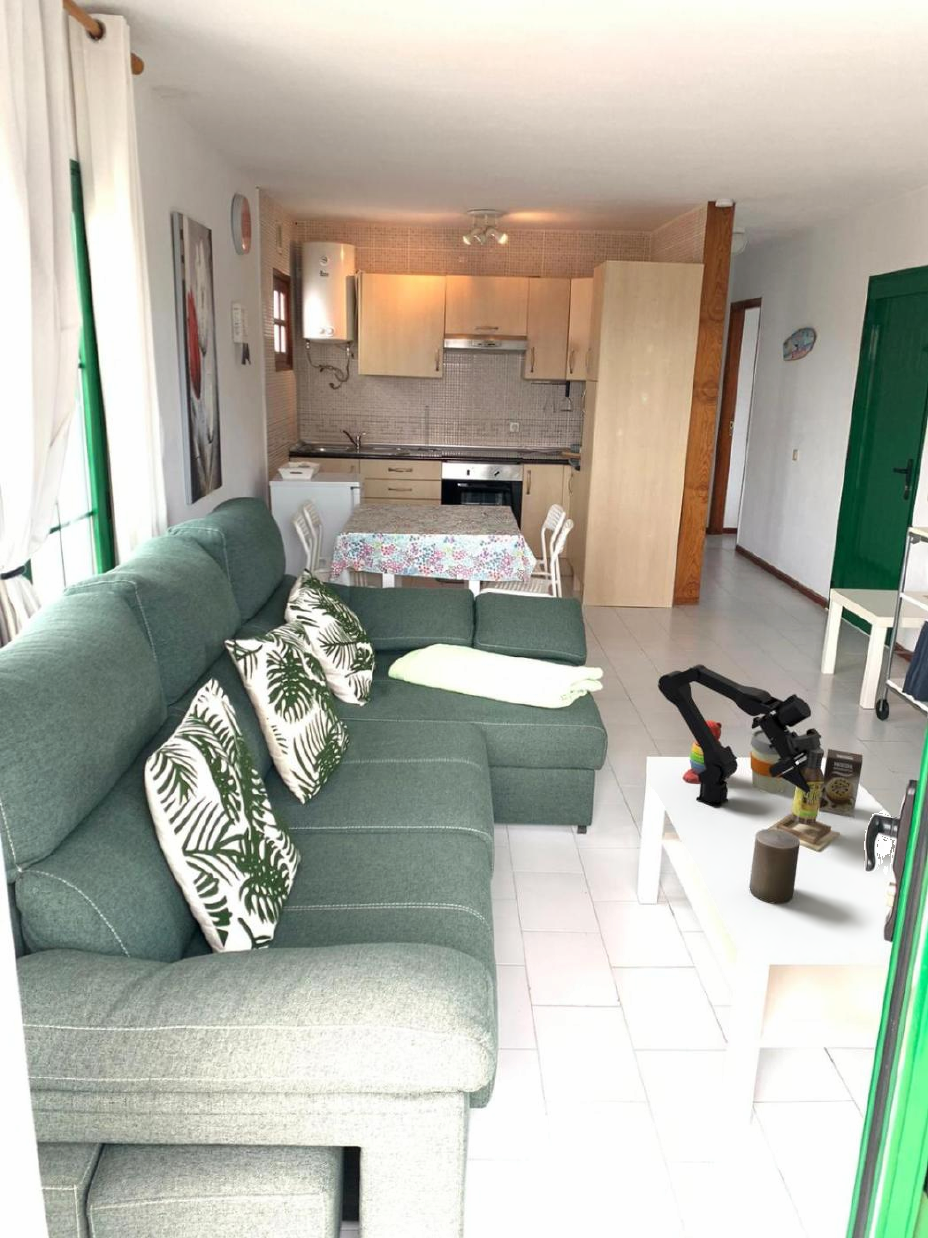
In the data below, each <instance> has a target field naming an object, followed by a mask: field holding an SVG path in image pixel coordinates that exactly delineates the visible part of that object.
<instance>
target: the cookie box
mask: <svg viewBox="0 0 928 1238" xmlns="http://www.w3.org/2000/svg"><path fill="white" fill-rule="evenodd" d="M826 752H827V753H826V758H825V763H824V764H825V765H824V770H823V775H824V779H823V787H822V792H821V798H820V803H819V809H818V812H823V813H830V814H834V815H840V816H845V817H850V818H854V816H855V809H856V803H857V797H858V793H859V785H860V780H861V773H862V772H861V771H862V766H863V755H862V754H860V753H859V754H858V753H853V752H848V751H841V750H836V749H831V748H828V749H827V751H826Z"/></svg>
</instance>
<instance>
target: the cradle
mask: <svg viewBox="0 0 928 1238" xmlns="http://www.w3.org/2000/svg"><path fill="white" fill-rule="evenodd" d="M791 815H792V813H791V814H790V813H788V814H787V815H786V816H784V817H783V818H782V819H780V820H779V821H778V820H777V822H775V823H773V825H770V826H769V827H767V829H778V830H783V831H786V832H789V833H791V834H793V835H795V836H796V837H797V838H798V839H799V841H800V846H802V847H805V848H806V849H807V848H808V849H810V850H812V851H815V852H819V851H821V850H822V849H823V848H825V847H826V846H827V845H828V844H831V842H833V841H834V840H835V839H837V838H838V837H839V836H841V832H840V831H838V830H835V829H832V826H831V825H828V824H826V823H823V822H820V821H818V820H816V822H815V823H814V824H811V825H804V824H800V823H797V822H795V821H794V820H793V819H792V817H791Z"/></svg>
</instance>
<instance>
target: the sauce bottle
mask: <svg viewBox="0 0 928 1238" xmlns="http://www.w3.org/2000/svg"><path fill="white" fill-rule="evenodd" d="M824 756H825V751H824V749H823V748H819V747H817V748H816V749H813V750H807V758H806V762H805V766H804V767H803V768H802V769H801V773H802V775H803V777H804V779H805V781H806V783H807V784H808V786H809V789H810V792H808V793H806V792H804V791H803V790H801V789H800V788H798V787H797V786H795V790H794V797H793V801H792V807H791V817H792V819H793V820H794V821H795V822H797V823H800V824H804V825H811V824H814V823H815V822H816V821H817V817H818V813H819V810H818V809H819V803H820V798H821V792H822V787H823V779H824V771H823V770H822V762H823V757H824Z"/></svg>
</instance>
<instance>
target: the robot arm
mask: <svg viewBox="0 0 928 1238" xmlns="http://www.w3.org/2000/svg"><path fill="white" fill-rule="evenodd" d="M693 682H696V683H697V684H699V685H701V686H704V687H705V688H707V689H709V690H711V691H713V692H715V693H717V694H720V695H721V696H723V697H724V698H727V699H729V700H731V701H732V702H733V703H734V704H735V705H736V706H737V707H738V708H739V709H740V711H742V712H744V713H745V714H747V715H749V716H751V717H753V718H752V724H751V726H750V727H751V729H753V730H754V729H756V728H758V727H760V730H762V731H763V732H764V734H765V735H766V737H767V738H768V740H770V743H771V745H769V747H770V749H772V748H774V749H775V750H776V752H777V753H778V755H779V756H780V759H778V762H777V763H775V764H773V765H772V766H770V767H769V773H770V775H771V776H772V778H774V777H775V776H777V775H779V774H781V773H782V774H781V775H780V776H779V777H780V778H781V777H782V778H783V779H785V780H787V782H789V783H790V784H792V785H793V786H795V787H796V786H797V787H798V788H800V789H801V790H803V791H804V792H806V793H808V792H810V789H809V786H808V784H807V783H806V781H805V779H804V777H803V775H802V773H801V769H802V768H803V767H804V766H805V762H806V758H807V750H813V749H816V748H817V747H819V748H821V745H822V744H821V739H822V735H821V734H820V733H819V732H818V730H817V729H816V728H815V727H813V728H808V729H807V730H806V733H804V734H802V735H798V733H797V732H796V731H794V730H793V731H790V729H789V728H793V727H795V726H797V725H798V724H800V723H802V722H803V721H805V720H807V719H809V718H810V717H811V716H812V710H811V708H810V705H809V703H807V702H806V701H805V700H804V699H802V698H801V697H798V696H797V694H796V693H793V694H792V695H790V696H788V697H787V698H786V699H784V700H781V699H779V698H777V697H774V696H772V695H771V694H770V693H769V692H768V691H767V690H765V689H761V688H758V687H755V686H748V685H747V686H745V685H742V684H740V683H738V682H736V681H734V680H732V679H730V678H729V677H727V676H723V675H722V674H719V673H718V672H715V671H714V670H712V669H709V668H707V667H706V666H705V665H704V664H696V665H694V666H691V667H689V668H688V669H686V670H683V671H681V670H673V671H671V672H669V673H666V674H663V675H662V676H660V677H659V679H658V682H657V687H658V690H659V692H660V693H661V694H662V695H663V696H664V698H665V700H667V701H668V702H670V703H671V704H672V705H674V706H675V707H676V708H677V710H678V712H679V713H680V715H681V717H682V718H683V720H684V722H685V723H686V725H687V727H688V729H689V731H690V732H691V734H692V736H693V737H694V739H695V741H697V743H698V744H699V746H700V748H701V750H702V752H703V759H704V765H705V767H706V770H704V771H703V772H701V773H699V774H698V779H699V782H701V784H699V787H700V788H699V795H698V796H697V797H696V798H695V800H696V801H698V802H701V803H704V804H705V805H709V806H711V807H713V808H719V807H720V806H722V805H723V804H725V803H727V802H728V800H729V798H728V790H729V788H728V786H727V785H728V781H726V780H728V779H730V778H731V776H732V775H734V774H736V772H737V769H738V767H739V766H738V761H737V759H738V757H737V756H736V755H735V754H734V752H733V750H732V748H731V747H730V746H729V745H727V746H726V747H725V746H723V745H722V744H721V745H720V744H719V743H718V741H717V740H716V738H715V736H714V735H713V733H712V731H711V729H710V728H709V726H708V724H707V723H706V721H707V720H706V719H705V718H704V716H703V714H702V713H701V712H702V711H700V709H699V708H698V706H697V704H696V702H695V701H694V699H693V696H692V695H693V694H692V687H691V683H693ZM772 712H775V713H772ZM760 715H762V716H760ZM788 727H789V728H788ZM772 738H773V739H772ZM821 749H822V748H821ZM797 762H798V763H797Z"/></svg>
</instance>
